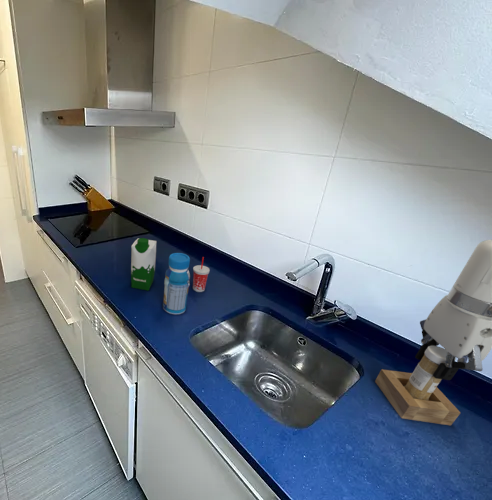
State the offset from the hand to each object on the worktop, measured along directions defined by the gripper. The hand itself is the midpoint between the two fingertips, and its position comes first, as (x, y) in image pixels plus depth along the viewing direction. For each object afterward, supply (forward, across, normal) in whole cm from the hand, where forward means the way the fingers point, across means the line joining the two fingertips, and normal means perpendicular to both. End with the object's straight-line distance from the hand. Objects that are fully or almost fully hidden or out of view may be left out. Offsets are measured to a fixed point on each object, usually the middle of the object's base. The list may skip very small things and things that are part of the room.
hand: (432, 367), depth 64 cm
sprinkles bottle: (+9, 0, 0) cm, 9 cm away
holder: (+11, 0, 0) cm, 11 cm away
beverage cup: (+12, +41, +49) cm, 65 cm away
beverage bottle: (+12, +27, +58) cm, 65 cm away
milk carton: (+12, +40, +71) cm, 82 cm away
